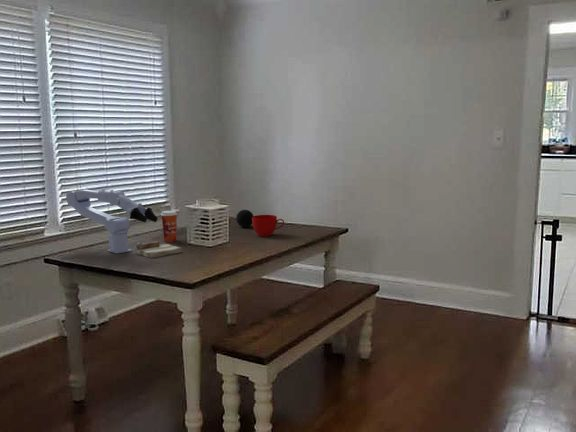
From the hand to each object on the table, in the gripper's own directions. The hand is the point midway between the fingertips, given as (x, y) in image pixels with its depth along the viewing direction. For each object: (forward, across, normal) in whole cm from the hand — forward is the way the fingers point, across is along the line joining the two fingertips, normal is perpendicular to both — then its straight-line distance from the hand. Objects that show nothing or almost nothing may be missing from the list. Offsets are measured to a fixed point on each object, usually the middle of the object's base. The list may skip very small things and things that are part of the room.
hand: (151, 220), depth 271 cm
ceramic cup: (+30, +62, -5) cm, 69 cm away
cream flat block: (+5, +8, +14) cm, 17 cm away
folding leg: (-1, +7, +15) cm, 16 cm away
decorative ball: (+7, +79, +2) cm, 79 cm away
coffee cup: (-6, +33, +16) cm, 37 cm away
